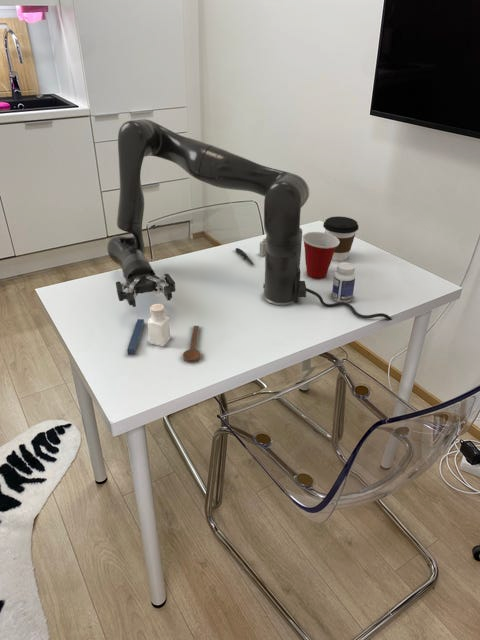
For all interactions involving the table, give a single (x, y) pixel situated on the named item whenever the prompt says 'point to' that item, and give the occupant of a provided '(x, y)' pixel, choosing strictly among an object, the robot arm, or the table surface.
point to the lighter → (263, 247)
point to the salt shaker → (158, 325)
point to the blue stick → (135, 337)
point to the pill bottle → (343, 282)
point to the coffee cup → (341, 234)
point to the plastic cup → (319, 253)
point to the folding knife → (244, 255)
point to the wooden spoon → (193, 348)
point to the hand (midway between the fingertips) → (151, 300)
